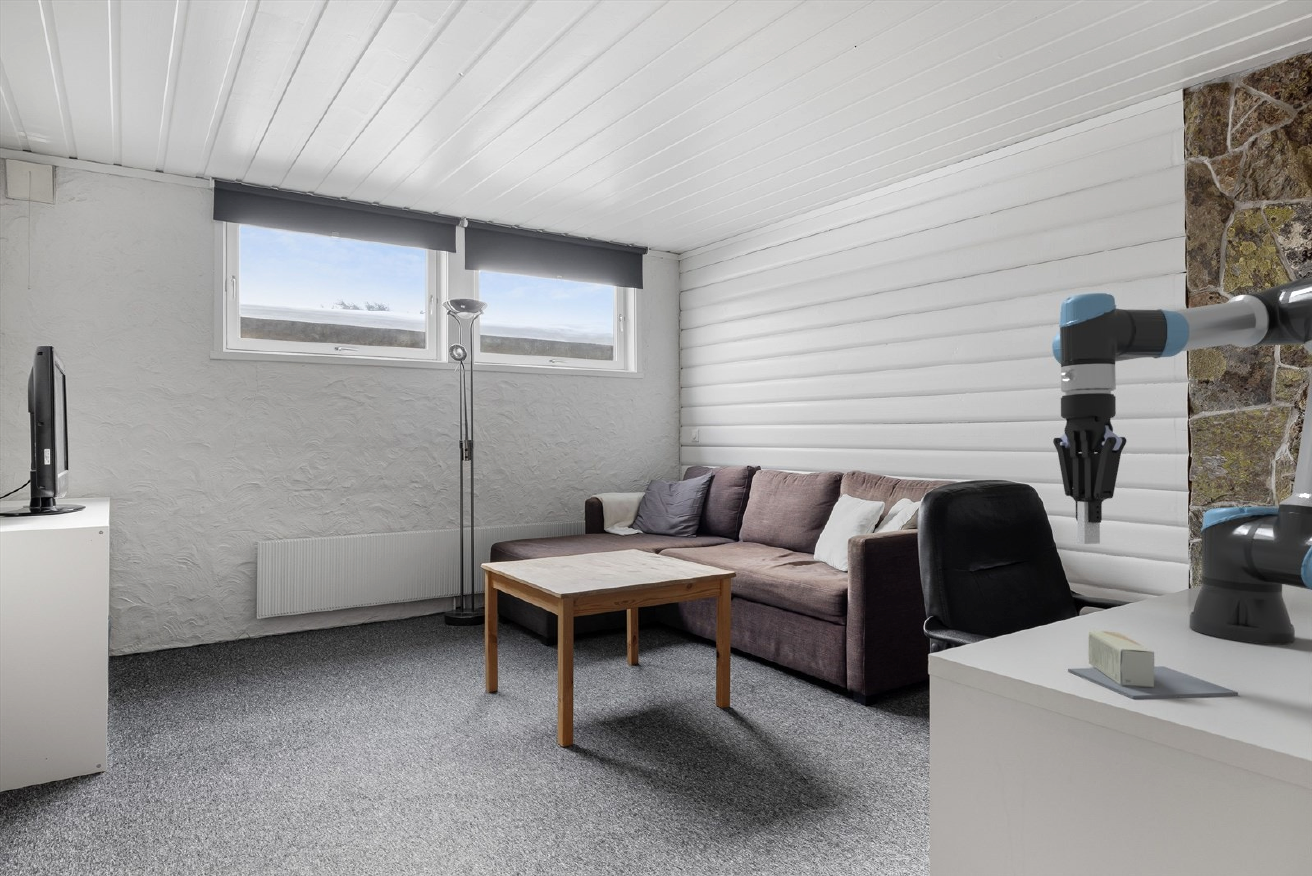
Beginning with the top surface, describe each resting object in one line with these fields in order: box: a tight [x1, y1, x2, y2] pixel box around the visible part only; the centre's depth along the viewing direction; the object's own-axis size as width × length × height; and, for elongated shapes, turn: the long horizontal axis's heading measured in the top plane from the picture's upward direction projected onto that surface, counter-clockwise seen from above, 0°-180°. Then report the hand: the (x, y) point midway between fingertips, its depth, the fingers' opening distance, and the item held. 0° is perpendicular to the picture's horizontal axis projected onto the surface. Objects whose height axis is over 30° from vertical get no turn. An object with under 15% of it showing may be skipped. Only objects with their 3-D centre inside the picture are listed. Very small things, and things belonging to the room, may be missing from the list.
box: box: [1087, 630, 1155, 687], centre depth 107 cm, size 5×4×11 cm
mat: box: [1067, 665, 1239, 700], centre depth 105 cm, size 16×12×1 cm
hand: (1088, 542), depth 118 cm, fingers closed
